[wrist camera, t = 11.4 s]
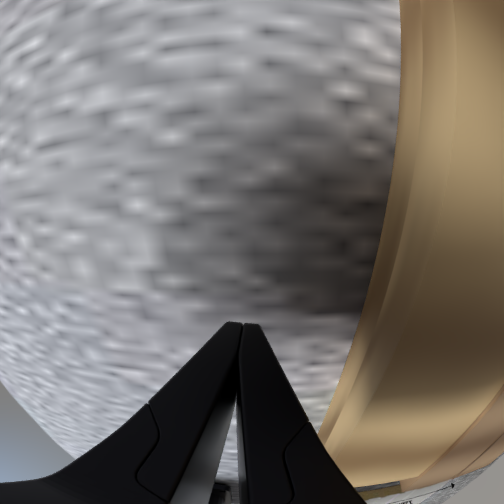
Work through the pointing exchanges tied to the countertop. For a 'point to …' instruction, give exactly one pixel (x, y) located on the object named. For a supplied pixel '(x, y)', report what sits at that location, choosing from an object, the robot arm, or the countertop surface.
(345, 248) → the countertop surface
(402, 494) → the baseboard molding
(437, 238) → the plank
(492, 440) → the floor board
